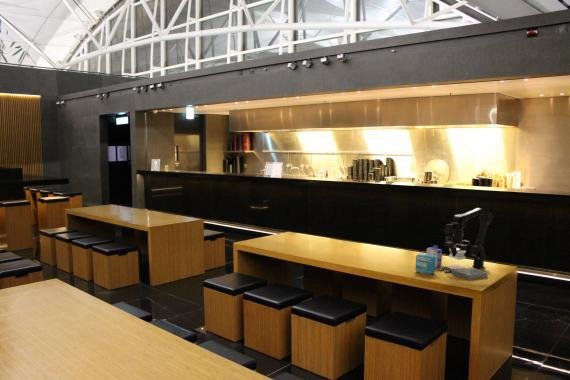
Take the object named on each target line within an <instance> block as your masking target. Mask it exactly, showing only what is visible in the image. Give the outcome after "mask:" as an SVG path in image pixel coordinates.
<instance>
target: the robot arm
mask: <svg viewBox="0 0 570 380" xmlns="http://www.w3.org/2000/svg"><path fill="white" fill-rule="evenodd" d="M475 217H479V223H480V225H479V229H478V233H477V236H476V240H475V244H474V245H472V242H471V241H470V240H467V239H464V237H465V235H464V233H463V232H464V228H466V224H465V223H467V221H468V220H471V219H472V218H475ZM493 219H494V215H493V213H491V212H488V211H486V210H484V209H483V208H482V207H481V208H480V207H476V208H474V209H471V210H469V211H467V212H465V213H461V214H460V213H459V214H455V215H454V216H453V217H452V219H451V220H450V222H449V224H448V223H447V224H446V226H444V229H443V232H444V235H446V236H445V241H444V247H447V248H450V249H451V251H450V253H451V252H452V255H453V257H454V256H455V253H456V249H457V248H459V249H463V250H466V249H467V248H468V247H469V246H471V247H470V255H471V259H473V265H471V268H474V269H477V270H479V269H486V267H485V266H484V264H485V263H484V262H485V261H486V260H487V258H488V257H487V255H486V254H485V248H484V244H485V238H486V235H487V231H488V227H489V225H491V223H492V221H493ZM450 235H451V236H450ZM463 239H464V240H463ZM457 246H459V247H457Z"/></svg>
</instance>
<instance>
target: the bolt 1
mask: <svg viewBox="0 0 570 380" xmlns="http://www.w3.org/2000/svg"><path fill="white" fill-rule="evenodd" d="M445 270H446V269H445V266H444V265H441V267H439V269H438V271H439V272H441V271H445Z"/></svg>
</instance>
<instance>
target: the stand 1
mask: <svg viewBox="0 0 570 380" xmlns="http://www.w3.org/2000/svg"><path fill="white" fill-rule="evenodd" d="M444 267H445V269H444V270H445V271H446V270H450V269H453V270H454V269H461V268H466V267H465V266H462V265H459V264H453V265H445V266H444Z"/></svg>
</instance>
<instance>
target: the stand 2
mask: <svg viewBox="0 0 570 380" xmlns="http://www.w3.org/2000/svg"><path fill="white" fill-rule="evenodd" d="M451 275H453V276H456V277H458V278H461V277H462V279H465V280H468V281H473V280H478V279H479V280H480V279H485V278H486V279H487V278H488V275H489V274H488V272H486V271H483V270H479V269H478V268H475V267H472V266H471V267H465V268H461V269H454V270H452V272H451Z"/></svg>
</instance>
